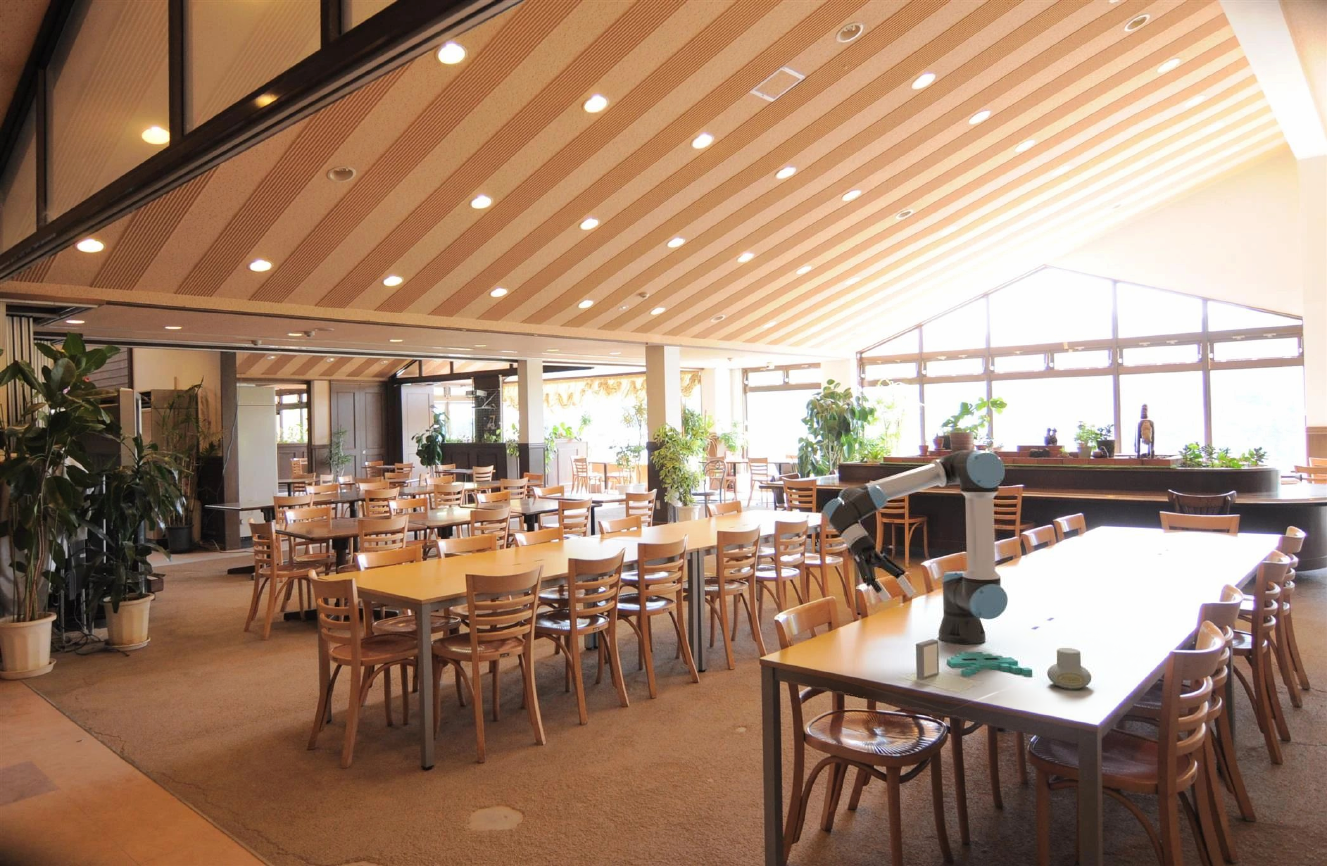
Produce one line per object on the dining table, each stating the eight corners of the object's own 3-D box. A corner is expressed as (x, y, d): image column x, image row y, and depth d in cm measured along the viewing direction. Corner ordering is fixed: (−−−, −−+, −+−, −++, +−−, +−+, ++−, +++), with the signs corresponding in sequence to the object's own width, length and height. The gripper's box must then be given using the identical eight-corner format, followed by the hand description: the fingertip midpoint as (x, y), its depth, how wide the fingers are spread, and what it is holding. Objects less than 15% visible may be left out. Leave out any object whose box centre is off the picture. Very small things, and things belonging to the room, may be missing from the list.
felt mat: (901, 678, 237) (901, 677, 237) (927, 670, 245) (927, 668, 245) (956, 693, 223) (956, 692, 223) (983, 684, 231) (983, 682, 231)
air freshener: (1048, 688, 225) (1048, 652, 225) (1046, 680, 233) (1045, 645, 233) (1093, 692, 221) (1092, 655, 221) (1089, 683, 229) (1088, 648, 229)
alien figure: (1032, 677, 238) (1001, 658, 258) (1032, 669, 238) (1001, 651, 258) (964, 679, 237) (938, 660, 257) (964, 671, 237) (938, 653, 257)
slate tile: (916, 678, 236) (915, 643, 236) (932, 673, 241) (932, 639, 241) (922, 680, 234) (922, 645, 234) (939, 674, 239) (938, 640, 239)
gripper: (873, 546, 266) (914, 599, 255) (827, 552, 249) (869, 610, 238) (888, 531, 262) (930, 585, 251) (842, 536, 246) (885, 594, 235)
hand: (900, 597), depth 245 cm, fingers open, 13 cm apart
